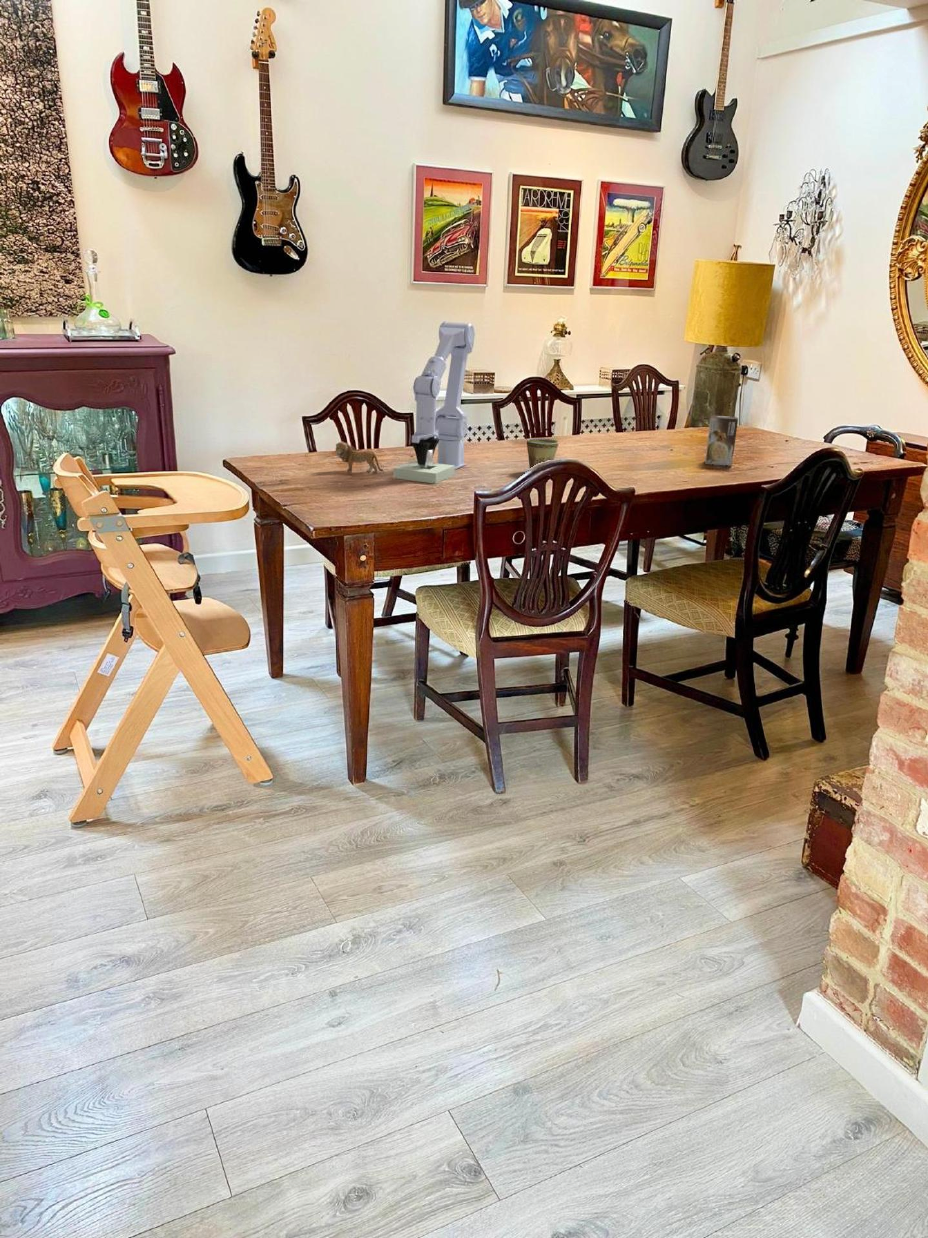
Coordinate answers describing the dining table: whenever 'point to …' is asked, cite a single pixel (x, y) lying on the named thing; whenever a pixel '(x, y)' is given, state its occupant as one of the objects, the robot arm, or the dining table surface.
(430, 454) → the peg
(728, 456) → the coffee box
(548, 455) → the ceramic cup
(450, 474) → the socket block
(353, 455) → the lion figurine
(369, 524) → the dining table surface
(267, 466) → the dining table surface
